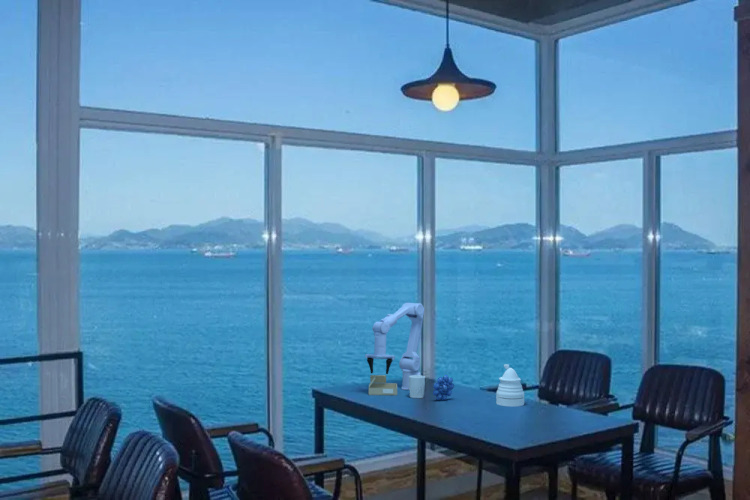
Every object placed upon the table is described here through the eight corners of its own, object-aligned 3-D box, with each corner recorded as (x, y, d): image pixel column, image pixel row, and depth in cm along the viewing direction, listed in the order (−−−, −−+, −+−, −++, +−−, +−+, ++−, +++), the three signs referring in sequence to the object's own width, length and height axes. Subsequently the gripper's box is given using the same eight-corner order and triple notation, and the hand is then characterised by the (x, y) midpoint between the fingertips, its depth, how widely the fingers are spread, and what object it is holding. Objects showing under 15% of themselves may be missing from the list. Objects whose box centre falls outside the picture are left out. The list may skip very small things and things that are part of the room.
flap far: (369, 384, 386) (375, 376, 386) (369, 387, 378) (375, 378, 378) (369, 384, 386) (375, 375, 386) (368, 386, 378) (374, 378, 378)
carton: (396, 390, 391) (396, 383, 391) (397, 395, 377) (397, 388, 377) (369, 389, 392) (369, 383, 392) (368, 395, 377) (368, 387, 378)
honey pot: (492, 404, 355) (492, 365, 356) (501, 400, 367) (501, 362, 367) (519, 407, 349) (519, 367, 350) (527, 402, 361) (527, 364, 361)
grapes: (449, 397, 372) (449, 373, 372) (456, 400, 365) (456, 375, 366) (428, 399, 366) (428, 374, 366) (435, 402, 360) (436, 376, 360)
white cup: (425, 395, 377) (425, 375, 377) (424, 398, 369) (424, 377, 369) (409, 395, 377) (409, 375, 377) (408, 398, 370) (408, 377, 370)
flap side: (386, 382, 391) (386, 375, 388) (386, 382, 391) (386, 375, 388) (370, 382, 391) (370, 375, 389) (370, 382, 391) (370, 375, 388)
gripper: (364, 346, 378) (363, 373, 378) (393, 347, 375) (392, 375, 375) (367, 344, 385) (366, 371, 385) (395, 346, 382) (394, 373, 382)
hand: (379, 373), depth 381 cm, fingers open, 7 cm apart
